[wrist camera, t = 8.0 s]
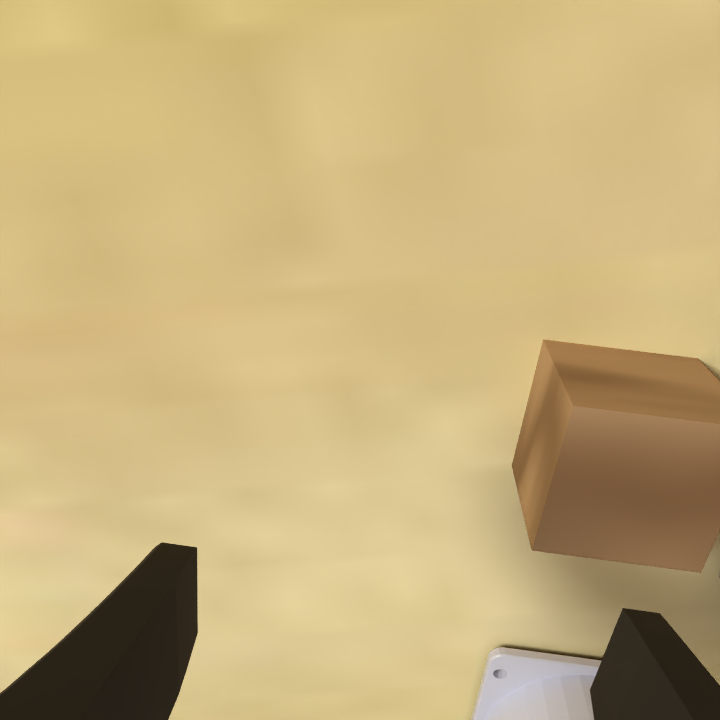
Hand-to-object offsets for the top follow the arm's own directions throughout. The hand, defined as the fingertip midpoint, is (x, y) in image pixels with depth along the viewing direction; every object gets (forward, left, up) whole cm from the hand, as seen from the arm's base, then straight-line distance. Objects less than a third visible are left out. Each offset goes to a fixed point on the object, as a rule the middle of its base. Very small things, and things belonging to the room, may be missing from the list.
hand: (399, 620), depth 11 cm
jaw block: (-1, -6, -10) cm, 11 cm away
